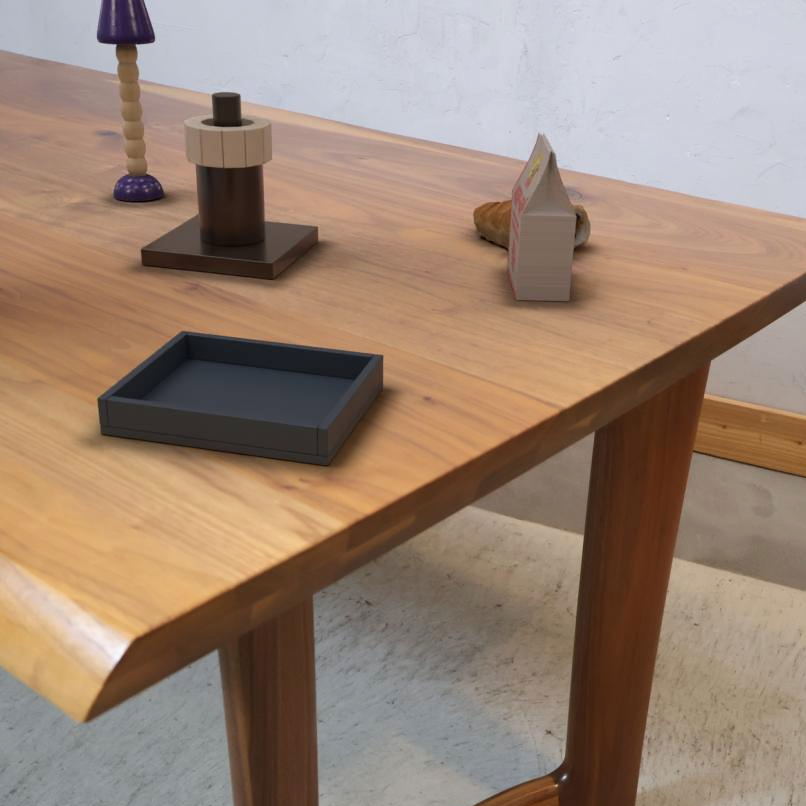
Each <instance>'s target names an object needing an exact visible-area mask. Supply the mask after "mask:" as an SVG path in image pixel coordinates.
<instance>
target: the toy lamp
mask: <svg viewBox="0 0 806 806" xmlns="http://www.w3.org/2000/svg"><path fill="white" fill-rule="evenodd" d="M96 29H97V30H96V40H97V42H98V43H100V44H104V45H115V57H116V60H117V62H118V64H117V68H116V70H117V71H116V73H117V77H118V80H119V84H118V94H119V97H120V99H121V103H120V114H121V117H122V119H123V122H122V134H123V136H124V138H125V141H124V152H125V154H126V157H127V158H126V163H125V164H126V170H127V172H128V173H127V174H125V175H123V176H121V177H120V178H119V179H117V181H116V182H115V185H114V189H113V198H114V199H116V200H118V201H124V202H125V201H126V202H146V201H153V200H157V199H159V198H162V197H163V196H164V195H165V192H164V188H163V186H162V184H161V181H159V180H158V178H156V177H155V176H153V175H151V174H149V173H148V161H147V158H146V157H145V155H146V151H147V146H146V142H145V140H144V135H145V125H144V123H143V120H142V117H143V107H142V104H141V101H140V98H141V86H140V84H139V82H138V81H139V78H140V68H139V66H138V64H137V61H138V55H139V53H138V48H137V46H140V45H148V44H149V45H150V44H153V43H155V42H156V35H155V31H154V27H153V24H152V21H151V18H150V14H149V12H148V8H147V6H146V3H145V0H101V3H100V9H99V16H98V22H97V28H96Z"/></svg>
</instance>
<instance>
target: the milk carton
mask: <svg viewBox="0 0 806 806" xmlns="http://www.w3.org/2000/svg"><path fill="white" fill-rule="evenodd" d="M556 155H557V154H556V152H555V150H554V149H553V147H552V145H551V143H550V142H549V139H548V138H547V136H546V134H545V133H543V134H542V133H540V132H538V134H537V137H536V141H535V144H534V146H533V149H532V152H531V154H530V156H529V158H528V160H527V162H526V163H525V166H524V168H523V169H522V171H521V173H520V175H519V177H518V178H517V181H516V182H515V184H514V186H513V188H512V190H511V200H512V202H511V218H510V234H509V249H508V250H507V251H508V253H507V269H506V270H507V274H508V278H509V281H510V285H511V289H512V292H513V295H514V299H515V301H539V302H540V301H541V302H570V295H571V293H570V292H571V282H572V272H573V259H574V249H575V248H574V239H575V227H576V214H575V212H574V209H573V207H572V204H573V203H572V202H571V199H570V197H569V194H568V192H567V190H566V187H565V185H564V182H563V180H562V176H561V173H560V170H559V167H558V162H557V161H558V160H557V156H556Z"/></svg>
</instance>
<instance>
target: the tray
mask: <svg viewBox="0 0 806 806" xmlns="http://www.w3.org/2000/svg"><path fill="white" fill-rule="evenodd" d="M383 388H384V354H379V353H369V352H362V351H354V350H353V351H352V350H345V349H337V348H328V347H321V346H320V347H319V346H311V345H304V344H296V343H287V342H278V341H271V340H262V339H253V338H245V337H237V336H230V335H229V336H228V335H221V334H214V333H213V334H212V333H204V332H197V331H196V332H195V331H187V330H181V331H180V332H178V333H177V334H176V335H175V336H173V337H172V338H171V339H169V340H168V341H167V342H166V343H165V344H164V345H162V346H161V347H160V348H158V349H157V350H156V351H154V352H153V353H152V354H150V355H149V357H147V358H146V359H144V360H143V361H142V362H141V363H139V364H138V365H137V366H136V367H134V368H133V369H132V370H131V371H130V372H128V373H127V374H126V375H125V376H123V377H122V378H121V379H119V380H118V381H117V382H116V383H114V384H113V385H112V386H110V387H109V388H108V389H107V390H106V391H104V392H103V393H101V395H99V396H98V397H97V398H96V403H97V409H98V419H99V425H100V426H99V428H100V429H99V430H100V434H101V435H105V436H112V437H113V436H114V437H120V438H128V439H134V440H141V441H148V442H155V443H156V442H157V443H162V444H170V445H177V446H183V447H191V448H197V449H206V450H212V451H219V452H227V453H234V454H240V455H247V456H255V457H263V458H269V459H277V460H285V461H293V462H299V463H306V464H313V465H320V466H325V467H326V466H329V464H330V463H331V462H332V460H333V459H334V457H335V456H336V455H337V453H338V452H339V450H340V449H341V448H342V446H343V445H344V443H345V442H346V440H347V439H348V437H349V436H350V435H351V433H352V432H353V431H354V429H355V428H356V426H357V425H358V424H359V422H360V421H361V419H362V418H363V416H364V415H365V414H366V412H367V411H368V410H369V408H370V407H371V405H372V404H373V402H374V401H375V400H376V398H377V397H378V396H379V394H380V393H381V391H382V390H383Z"/></svg>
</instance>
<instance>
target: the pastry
mask: <svg viewBox="0 0 806 806" xmlns="http://www.w3.org/2000/svg"><path fill="white" fill-rule="evenodd" d="M511 202H512V199H508V200H507V199H506V200H502V201H488V202H485V203H484V204H482V205H479V206H477V207H476V208H475V209H474V210H473V213H472V217H473V224H474V226H475V229H476V231H477V233H478V234H479V235H480V236H481V238H485V240H486V241H488V242H490V241H492V242H493V243H494V244H495V245H499V246H502V247H504V248H505V249H508V250H509V234H510V218H511ZM571 204H572V207H573V209H574V212H575V214H576V227H575V239H574V249H576V248H578V247H579V246H582V245H584V244H585V243H587V242H588V241H589V238H590V236H591V221H590V219H589V215H588V212H587V210H586V209H585V208H584V206H583V205H582V204H577V205H575V204H574V203H571Z"/></svg>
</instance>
